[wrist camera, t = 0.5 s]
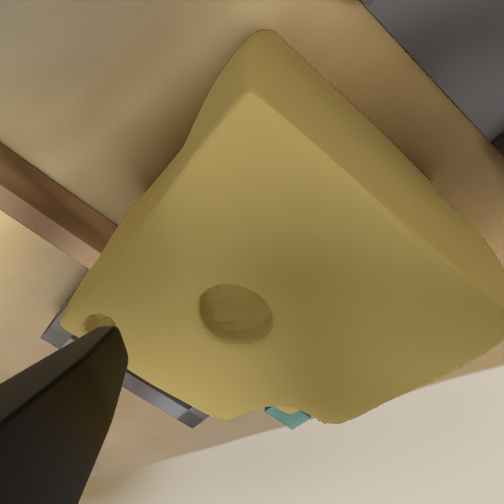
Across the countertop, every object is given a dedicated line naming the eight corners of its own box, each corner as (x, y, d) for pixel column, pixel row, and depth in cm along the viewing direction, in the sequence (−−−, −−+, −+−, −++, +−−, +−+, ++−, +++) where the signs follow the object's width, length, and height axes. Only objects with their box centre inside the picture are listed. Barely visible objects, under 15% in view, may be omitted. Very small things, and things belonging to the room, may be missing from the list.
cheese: (292, 307, 26) (288, 477, 17) (130, 188, 23) (29, 326, 14) (448, 179, 21) (545, 329, 13) (269, 5, 18) (239, 52, 10)
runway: (-85, 217, 25) (-146, 258, 21) (301, -564, 11) (300, -785, 8) (232, 416, 31) (224, 472, 28) (719, 74, 18) (817, 102, 14)
